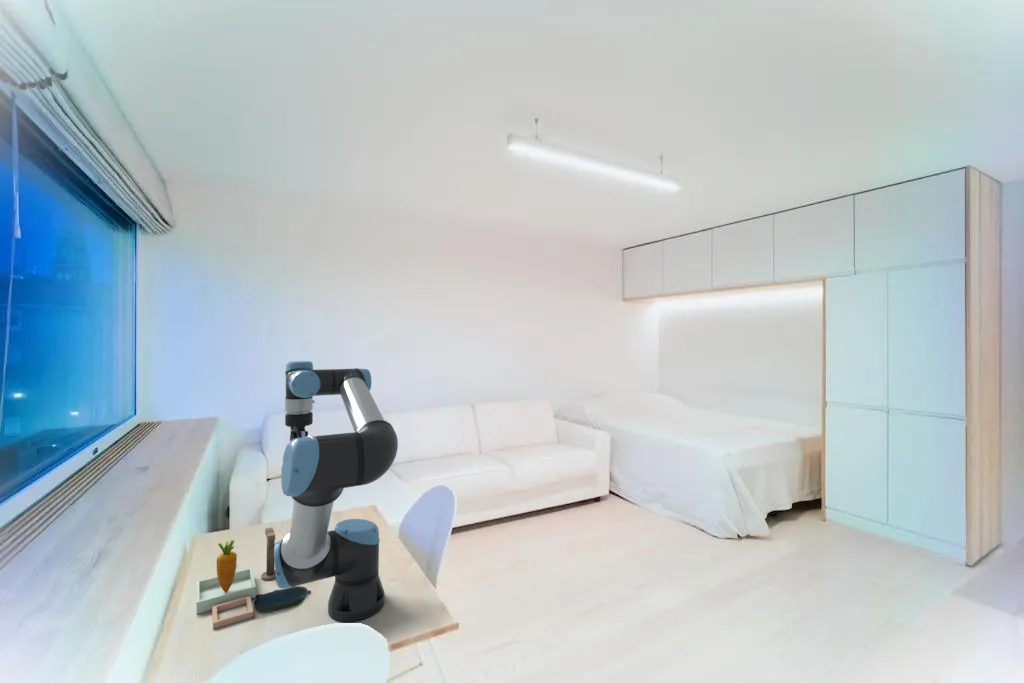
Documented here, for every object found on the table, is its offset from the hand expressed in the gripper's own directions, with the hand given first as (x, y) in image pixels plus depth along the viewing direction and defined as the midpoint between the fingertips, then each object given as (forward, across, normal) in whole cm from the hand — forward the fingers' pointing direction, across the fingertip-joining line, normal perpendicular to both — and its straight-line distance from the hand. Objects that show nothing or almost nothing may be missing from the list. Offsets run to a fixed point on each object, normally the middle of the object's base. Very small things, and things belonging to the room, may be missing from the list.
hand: (298, 482), depth 135 cm
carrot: (+31, +7, +18) cm, 37 cm away
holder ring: (+32, -5, +17) cm, 36 cm away
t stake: (+32, +12, +6) cm, 35 cm away
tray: (+32, +7, +18) cm, 37 cm away
